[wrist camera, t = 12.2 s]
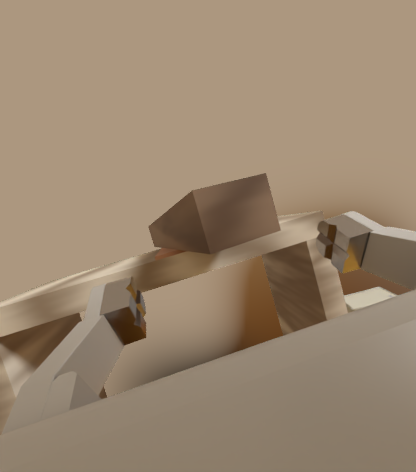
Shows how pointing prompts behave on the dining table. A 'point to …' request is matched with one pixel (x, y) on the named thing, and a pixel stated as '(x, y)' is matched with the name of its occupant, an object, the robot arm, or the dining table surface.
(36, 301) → the shelf
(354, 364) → the robot arm
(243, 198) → the bar
